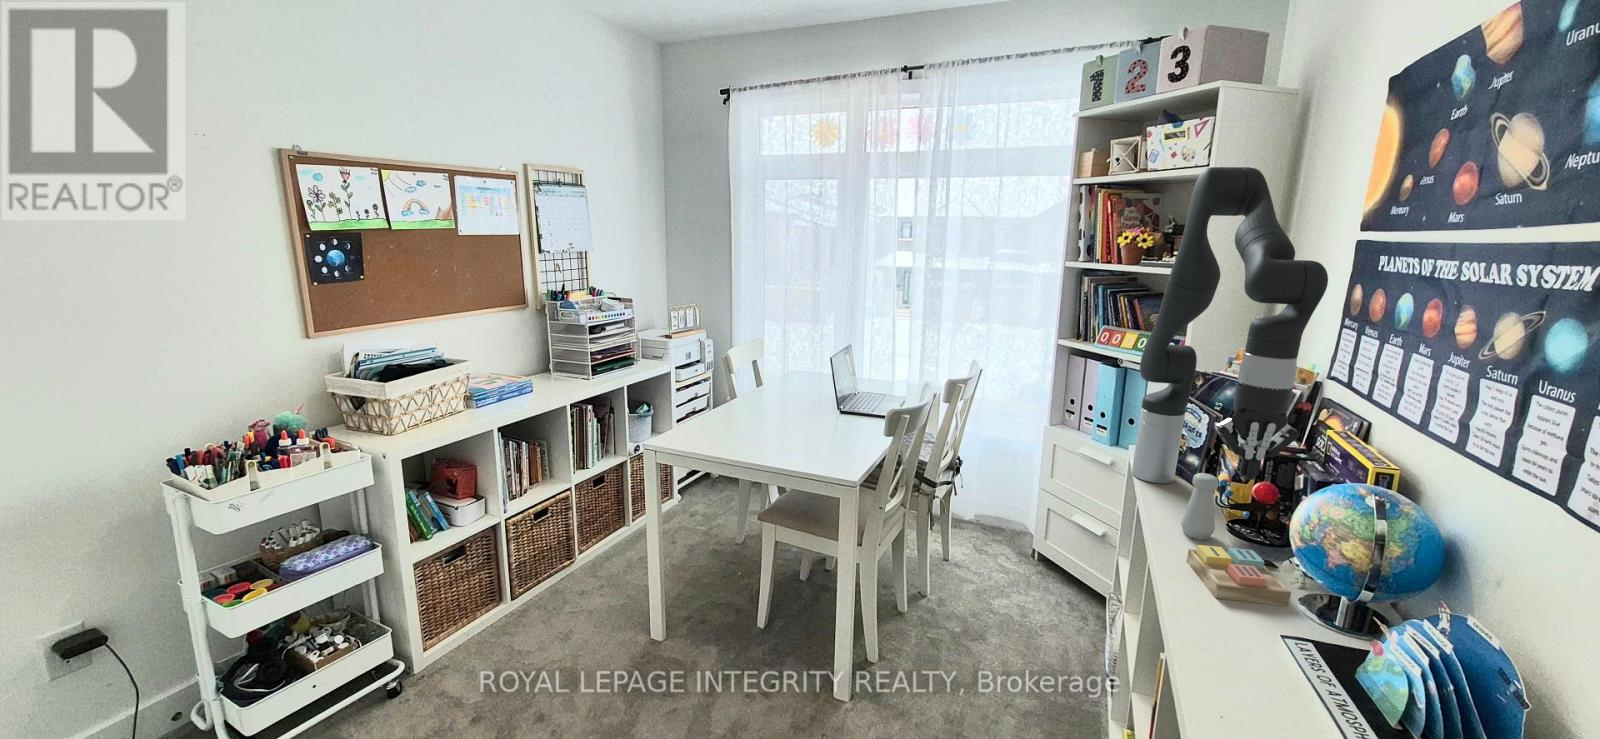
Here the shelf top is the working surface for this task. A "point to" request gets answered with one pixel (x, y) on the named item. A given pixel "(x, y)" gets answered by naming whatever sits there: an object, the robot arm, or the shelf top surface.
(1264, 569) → the button board
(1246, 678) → the shelf top surface
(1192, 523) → the salt shaker
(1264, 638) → the shelf top surface
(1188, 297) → the robot arm
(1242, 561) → the tile
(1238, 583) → the tile
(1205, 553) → the tile
